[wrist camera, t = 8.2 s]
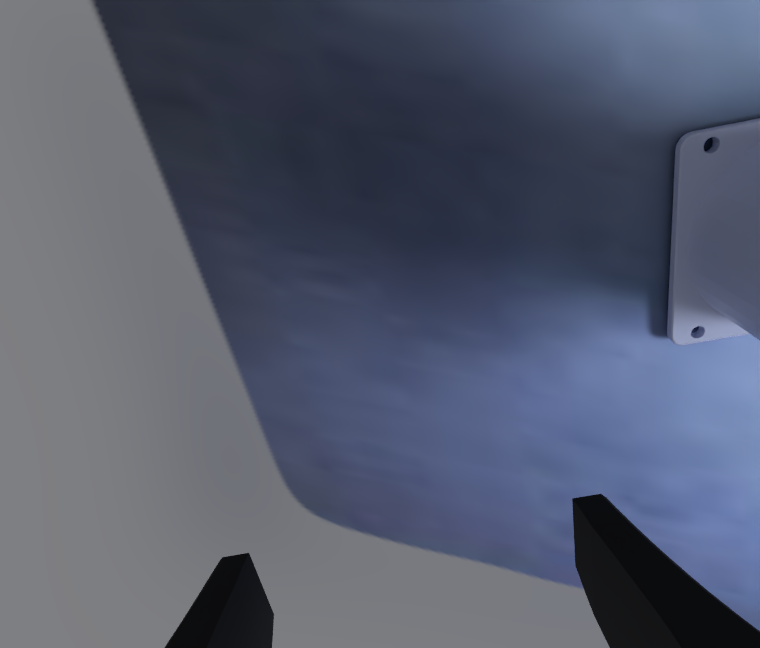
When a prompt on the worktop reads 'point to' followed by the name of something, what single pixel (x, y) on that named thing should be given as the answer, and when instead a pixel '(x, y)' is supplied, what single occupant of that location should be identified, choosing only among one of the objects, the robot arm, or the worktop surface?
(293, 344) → the worktop surface
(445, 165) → the worktop surface
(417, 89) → the worktop surface
